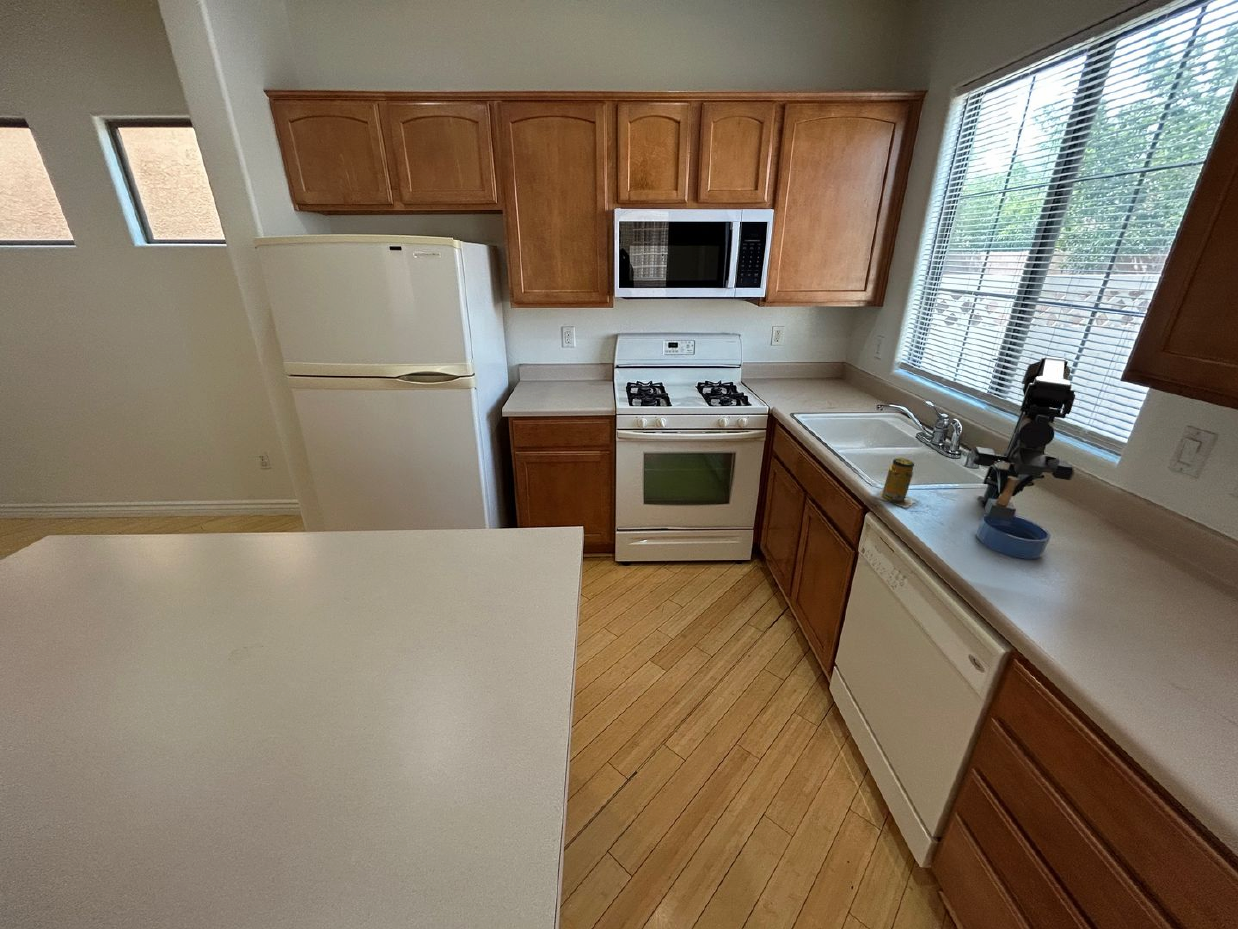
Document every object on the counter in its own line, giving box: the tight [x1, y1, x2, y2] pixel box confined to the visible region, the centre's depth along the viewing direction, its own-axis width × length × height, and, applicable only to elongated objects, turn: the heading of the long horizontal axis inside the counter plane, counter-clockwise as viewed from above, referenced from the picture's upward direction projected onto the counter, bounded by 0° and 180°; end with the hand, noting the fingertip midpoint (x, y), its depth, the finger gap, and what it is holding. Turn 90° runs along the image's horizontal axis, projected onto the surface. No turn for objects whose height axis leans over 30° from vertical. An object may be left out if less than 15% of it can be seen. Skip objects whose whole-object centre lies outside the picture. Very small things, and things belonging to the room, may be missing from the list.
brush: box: [984, 476, 1019, 520], centre depth 115 cm, size 4×5×10 cm
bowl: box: [975, 513, 1051, 560], centre depth 117 cm, size 13×13×6 cm
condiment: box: [875, 457, 917, 509], centre depth 136 cm, size 7×8×12 cm
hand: (1006, 494), depth 115 cm, fingers closed on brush, 2 cm apart
